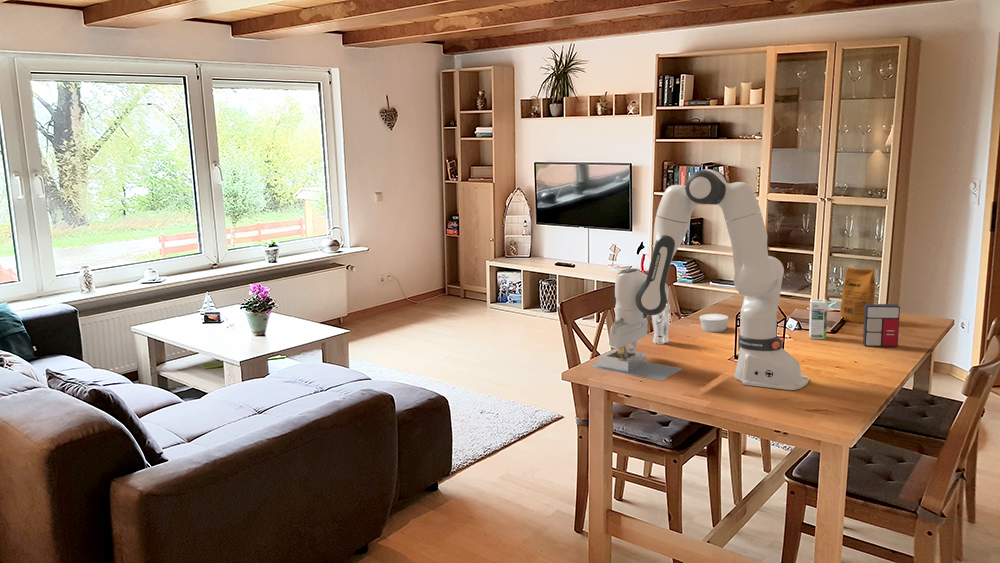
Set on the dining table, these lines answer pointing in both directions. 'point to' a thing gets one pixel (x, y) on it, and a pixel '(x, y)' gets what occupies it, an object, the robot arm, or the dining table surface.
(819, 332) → the syrup box
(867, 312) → the calculator
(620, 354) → the brass peg
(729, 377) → the dining table surface
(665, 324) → the beer glass
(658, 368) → the keeper board
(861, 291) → the coffee package
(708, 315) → the ramekin
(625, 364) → the grey recessed tray
